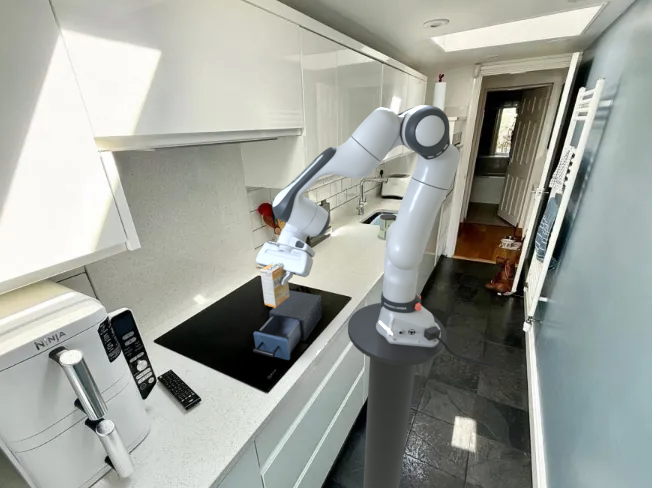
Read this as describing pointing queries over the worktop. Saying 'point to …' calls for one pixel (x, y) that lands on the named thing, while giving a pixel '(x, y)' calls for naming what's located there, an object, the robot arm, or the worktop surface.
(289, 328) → the drawer
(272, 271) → the supplement box
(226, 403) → the worktop surface
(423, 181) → the robot arm
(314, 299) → the drawer cabinet housing
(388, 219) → the coffee can
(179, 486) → the worktop surface
